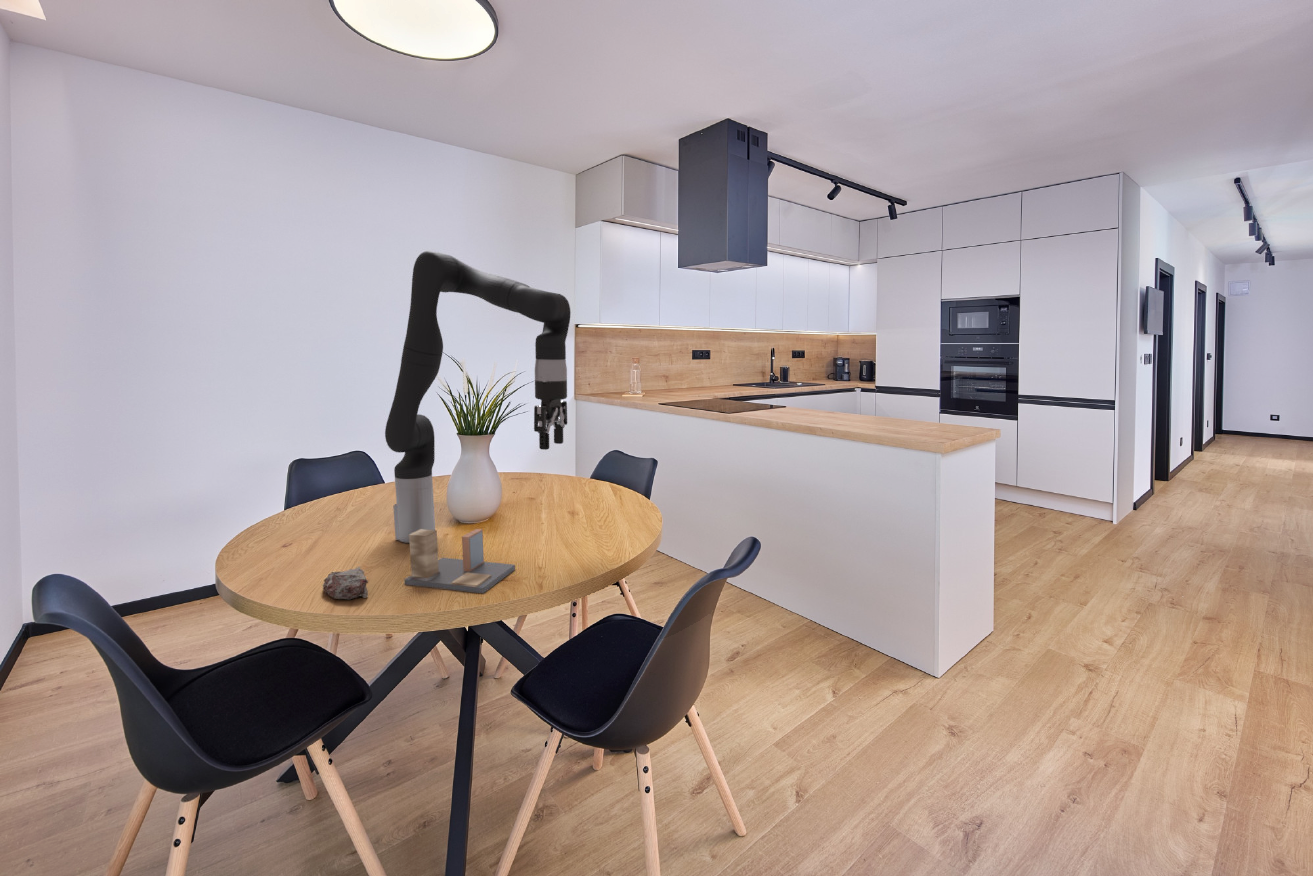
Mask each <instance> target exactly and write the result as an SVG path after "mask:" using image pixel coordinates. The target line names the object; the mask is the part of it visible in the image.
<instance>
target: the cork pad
mask: <svg viewBox="0 0 1313 876" xmlns="http://www.w3.org/2000/svg"><path fill="white" fill-rule="evenodd" d="M490 577H491V575H487V574H477V573H468V572H467V573H465V574H464V575H462V576H461V577H459V578H458V579H456V580H454V581H453V582H451V584H452V585H461V586H470V587H478V586H479V585H480V584H482V583H483V582H485V581H486V580H487V579H489V578H490Z"/></svg>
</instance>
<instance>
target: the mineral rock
mask: <svg viewBox="0 0 1313 876" xmlns="http://www.w3.org/2000/svg"><path fill="white" fill-rule="evenodd" d="M368 583H369V580H367V578H366V575H365V571H364V570H363V569H362V568H361V566H358V567H356V568H352V569H351V568H350V569H348V570H347V569H346V570H345V571H332V572H330V573H329V574H328V575H327V577H326V578H325V579H323V584H322V589H323V590H324V592H325V595H328V596H329V597H331V598H332V599H335V600H336V599H337V600H349V601H350V600H352V599H357V598H358V597H362V599H366V598H368V596H369V593H368V592H369V590H368V588H367V584H368Z"/></svg>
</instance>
